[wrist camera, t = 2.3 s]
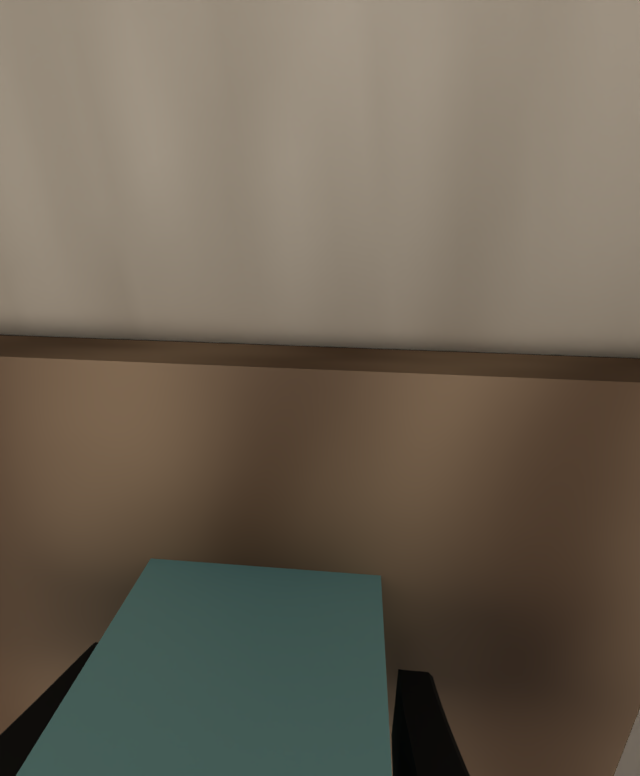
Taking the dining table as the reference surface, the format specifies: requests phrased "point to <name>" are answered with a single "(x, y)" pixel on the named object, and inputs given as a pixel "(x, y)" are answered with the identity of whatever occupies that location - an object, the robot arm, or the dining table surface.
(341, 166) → the dining table surface
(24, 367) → the board
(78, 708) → the teal cube crate
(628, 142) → the dining table surface
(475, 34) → the dining table surface
